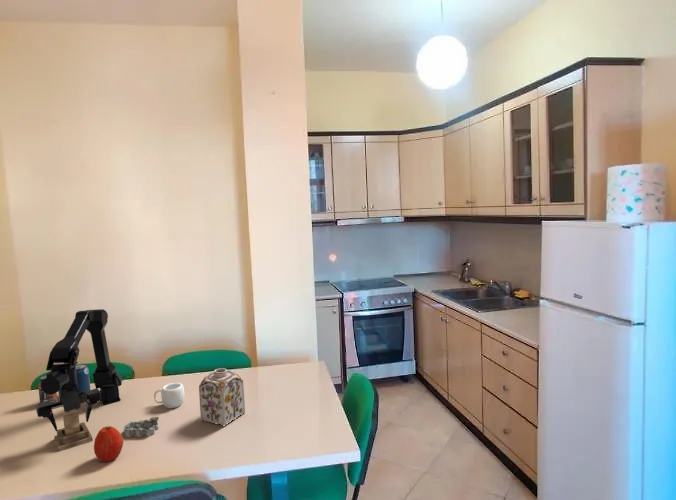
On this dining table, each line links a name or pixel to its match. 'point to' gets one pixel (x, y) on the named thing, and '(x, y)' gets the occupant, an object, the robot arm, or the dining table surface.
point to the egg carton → (136, 427)
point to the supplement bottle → (44, 396)
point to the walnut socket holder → (72, 438)
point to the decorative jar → (221, 396)
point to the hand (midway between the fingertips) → (72, 426)
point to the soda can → (82, 377)
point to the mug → (171, 395)
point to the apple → (108, 444)
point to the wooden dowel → (71, 423)
